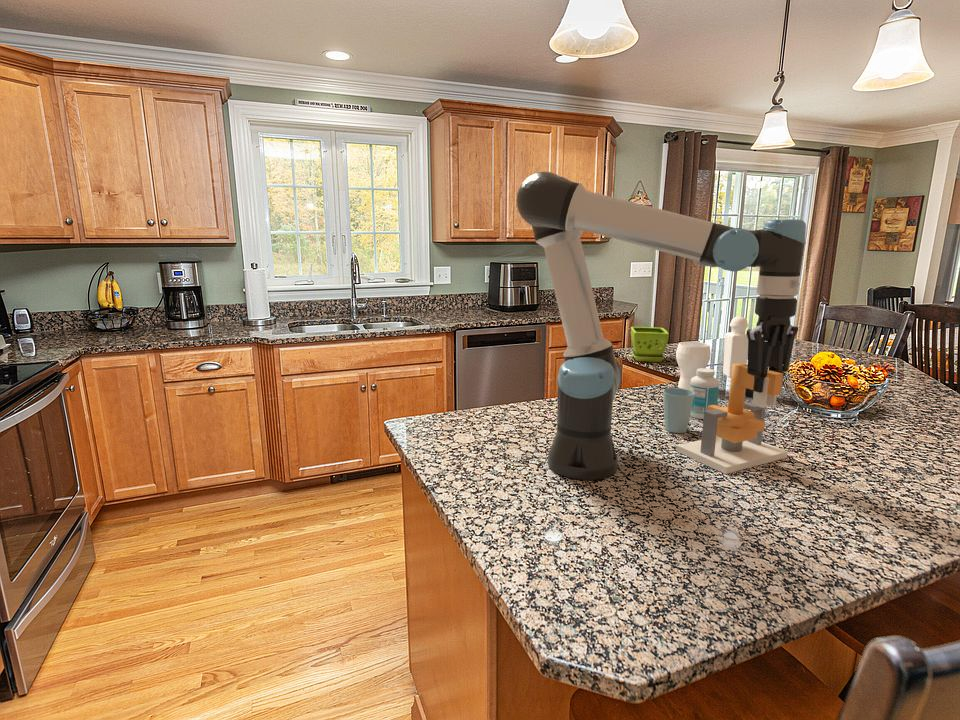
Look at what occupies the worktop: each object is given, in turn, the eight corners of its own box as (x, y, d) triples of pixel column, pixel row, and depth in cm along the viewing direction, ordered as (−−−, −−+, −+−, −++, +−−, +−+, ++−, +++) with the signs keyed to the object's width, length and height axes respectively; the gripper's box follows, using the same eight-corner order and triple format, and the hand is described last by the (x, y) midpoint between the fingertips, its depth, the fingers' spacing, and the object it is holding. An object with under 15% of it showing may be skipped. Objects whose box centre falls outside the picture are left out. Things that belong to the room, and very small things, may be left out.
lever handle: (757, 453, 113) (766, 376, 109) (696, 429, 128) (703, 360, 124) (782, 446, 117) (792, 372, 113) (720, 424, 131) (727, 357, 127)
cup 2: (678, 382, 187) (682, 340, 184) (710, 386, 181) (714, 343, 178) (669, 388, 179) (672, 345, 175) (702, 394, 173) (706, 348, 169)
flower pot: (631, 362, 217) (633, 331, 214) (628, 355, 231) (630, 326, 228) (667, 363, 215) (669, 332, 212) (661, 356, 228) (664, 327, 225)
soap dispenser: (746, 377, 192) (753, 317, 188) (728, 377, 193) (734, 317, 188) (738, 373, 199) (744, 315, 194) (720, 373, 199) (726, 315, 194)
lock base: (725, 474, 114) (730, 423, 111) (676, 451, 126) (679, 405, 124) (787, 457, 122) (793, 410, 120) (735, 437, 135) (739, 394, 132)
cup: (687, 425, 144) (690, 388, 141) (694, 435, 136) (698, 396, 134) (658, 424, 145) (660, 387, 142) (663, 434, 137) (666, 395, 135)
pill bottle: (711, 412, 154) (715, 367, 151) (719, 420, 147) (724, 373, 144) (684, 411, 155) (688, 366, 152) (691, 419, 148) (696, 372, 145)
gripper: (768, 300, 103) (754, 415, 109) (818, 296, 110) (803, 405, 115) (735, 296, 110) (723, 405, 115) (784, 293, 117) (771, 396, 122)
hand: (763, 404), depth 115 cm, fingers closed on lever handle, 2 cm apart
